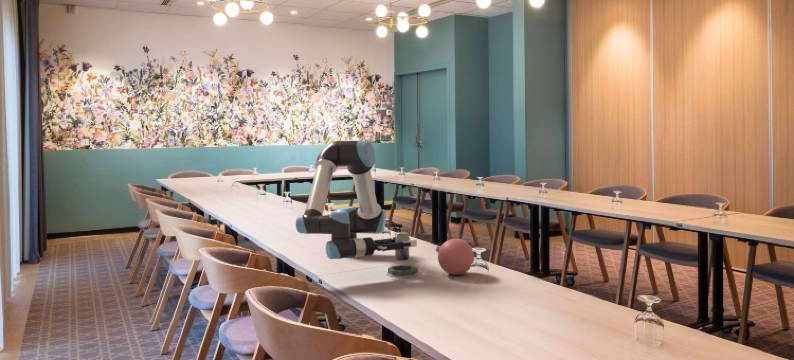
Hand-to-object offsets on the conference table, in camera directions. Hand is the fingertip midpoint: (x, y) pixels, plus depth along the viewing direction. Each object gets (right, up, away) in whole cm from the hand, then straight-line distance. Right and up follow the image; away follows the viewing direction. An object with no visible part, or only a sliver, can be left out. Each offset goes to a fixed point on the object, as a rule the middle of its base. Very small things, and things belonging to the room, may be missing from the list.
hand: (412, 241), depth 267 cm
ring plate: (-4, -14, -1) cm, 14 cm away
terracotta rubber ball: (+17, -14, -2) cm, 22 cm away
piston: (-5, -7, -2) cm, 9 cm away
